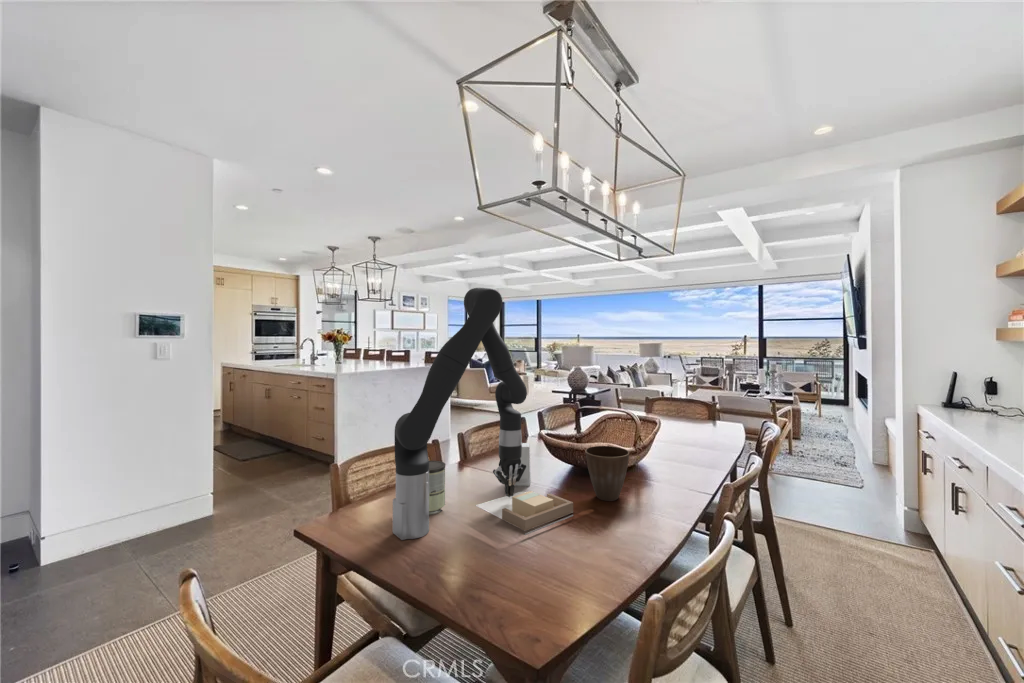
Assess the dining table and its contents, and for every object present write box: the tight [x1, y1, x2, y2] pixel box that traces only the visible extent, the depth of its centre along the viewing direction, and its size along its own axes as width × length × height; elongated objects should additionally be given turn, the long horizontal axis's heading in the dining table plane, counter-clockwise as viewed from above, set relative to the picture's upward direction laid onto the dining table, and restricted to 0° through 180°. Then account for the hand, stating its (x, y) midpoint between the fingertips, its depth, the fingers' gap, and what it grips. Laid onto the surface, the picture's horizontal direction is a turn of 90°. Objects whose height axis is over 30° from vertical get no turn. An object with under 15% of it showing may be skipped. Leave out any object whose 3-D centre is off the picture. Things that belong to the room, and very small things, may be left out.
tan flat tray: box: [475, 491, 574, 536], centre depth 131 cm, size 20×24×4 cm
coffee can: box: [429, 460, 447, 516], centre depth 134 cm, size 10×10×14 cm
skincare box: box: [514, 442, 532, 487], centre depth 155 cm, size 8×7×16 cm
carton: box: [512, 490, 553, 518], centre depth 128 cm, size 8×10×5 cm
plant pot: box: [584, 445, 630, 502], centre depth 144 cm, size 15×15×16 cm
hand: (509, 495), depth 136 cm, fingers closed
